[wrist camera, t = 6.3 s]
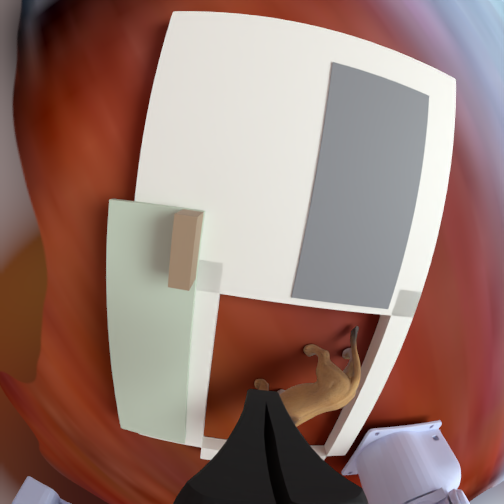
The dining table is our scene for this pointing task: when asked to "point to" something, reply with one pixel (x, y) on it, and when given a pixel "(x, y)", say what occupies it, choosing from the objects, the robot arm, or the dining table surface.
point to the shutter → (151, 312)
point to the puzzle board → (299, 180)
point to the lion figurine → (322, 384)
